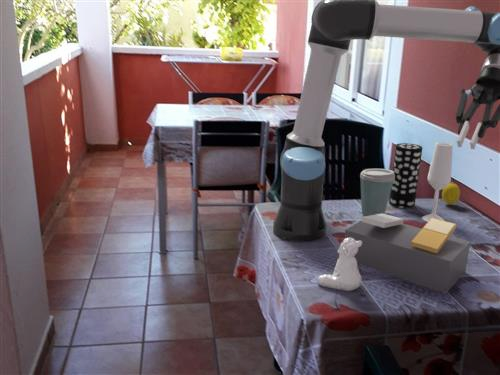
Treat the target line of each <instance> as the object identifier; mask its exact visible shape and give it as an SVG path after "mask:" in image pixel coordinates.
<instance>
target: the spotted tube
mask: <svg viewBox="0 0 500 375" xmlns="http://www.w3.org/2000/svg"><path fill="white" fill-rule="evenodd" d="M394 147H395V149H394V156H393V157H394V158H393V167H392V171H394V175H395V181H393V185H392V188H391V192H390V196H389V199H388V204H389V205H390V206H392V207H394V208H398V209H412V208H415V206H416V205H415V204H416V197H417V191H418V184H419V177H420V176H419V175H420V169H421V161H422V154H423V146H421V145H420V144H415V143H404V142H403V143H396V144H395V146H394Z"/></svg>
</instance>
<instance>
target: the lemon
mask: <svg viewBox="0 0 500 375" xmlns="http://www.w3.org/2000/svg"><path fill="white" fill-rule="evenodd" d="M460 196H461V190H460V187H459V185H457V183H455V182H453V181H451V182H450V183H449V184H448V185H447V186H446V187H444V188H443V189H442V192H441V198H442V201H444V203H446V204H447V205H448V206H451V205H452V204H455V203H457V202H458V201H459V199H460Z"/></svg>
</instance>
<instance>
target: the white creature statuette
mask: <svg viewBox="0 0 500 375" xmlns="http://www.w3.org/2000/svg"><path fill="white" fill-rule="evenodd" d="M361 245H362V241H355V240H354V239H353V238H351V237H349V238H345V237H344V239H343V240H342V242H341V243H340V245H339V248H338V249H337V253H338V255H339V256H338V259H337V260H336V264H335V267H334V271H333V272H332V274H321V275H319V276H318V278H317V284H318V285H319V286H322V287H323V288H325V287H326V288H329V289H335V290H341V291H344V292H352V291H354V290H356V289H358V288H359V287H360V286H361V283H362V280H363V278H362V274H360V270H359V267H358V265H359V264H357V260H356V258H355V257H354V256H355V255H356V254H357V252H358V247H360V246H361Z"/></svg>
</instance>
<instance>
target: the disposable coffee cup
mask: <svg viewBox="0 0 500 375" xmlns="http://www.w3.org/2000/svg"><path fill="white" fill-rule="evenodd" d="M359 177H360V178H359V179H360V199H361V200H360V202H361V203H360V204H361V214H362V217H364V216H370V215H375V214H382V213H383V214H385V213H386V209H387V206H388V204H389V198H390V192H391V188H392V185H393V181H395V175H394V171H393V169H386V168H365V169H363V170H362V171H361V172H360V174H359Z"/></svg>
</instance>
